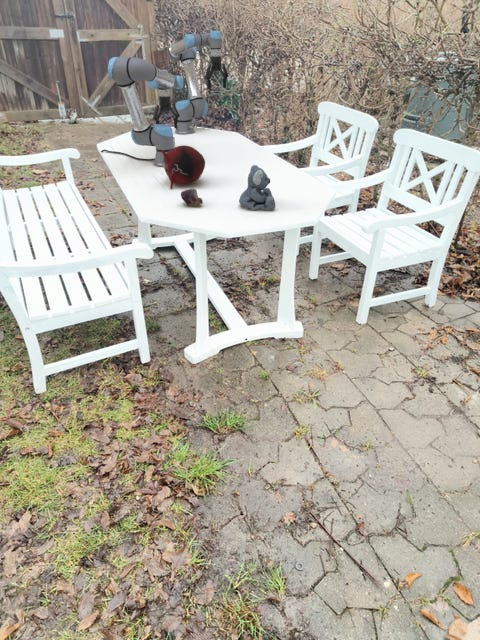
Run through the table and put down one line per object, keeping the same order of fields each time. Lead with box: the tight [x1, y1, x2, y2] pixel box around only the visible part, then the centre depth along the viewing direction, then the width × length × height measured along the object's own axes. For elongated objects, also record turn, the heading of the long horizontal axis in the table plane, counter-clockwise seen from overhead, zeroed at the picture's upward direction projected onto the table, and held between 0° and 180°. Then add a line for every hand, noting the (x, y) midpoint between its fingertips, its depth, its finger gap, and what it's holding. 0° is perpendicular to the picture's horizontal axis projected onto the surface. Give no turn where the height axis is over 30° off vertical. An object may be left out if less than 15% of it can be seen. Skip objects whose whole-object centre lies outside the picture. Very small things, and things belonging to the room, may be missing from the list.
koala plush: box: [238, 164, 276, 211], centre depth 224 cm, size 17×18×20 cm
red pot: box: [161, 145, 206, 190], centre depth 256 cm, size 21×24×25 cm
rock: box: [180, 188, 204, 207], centre depth 229 cm, size 12×9×10 cm
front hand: (167, 129), depth 315 cm, fingers open, 13 cm apart
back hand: (217, 89), depth 336 cm, fingers open, 13 cm apart
